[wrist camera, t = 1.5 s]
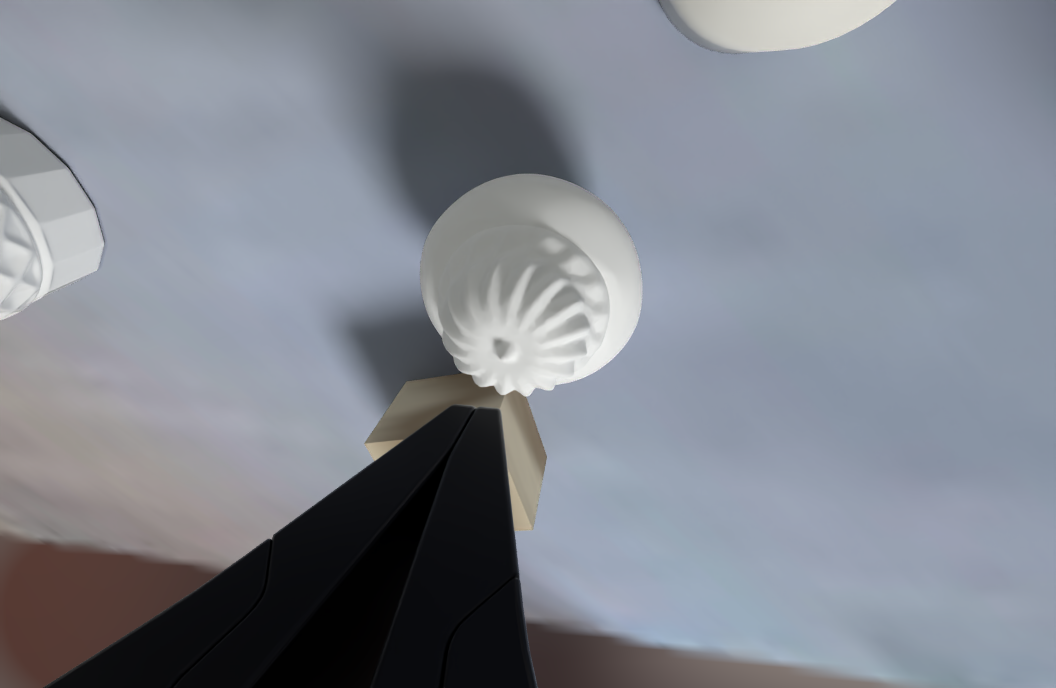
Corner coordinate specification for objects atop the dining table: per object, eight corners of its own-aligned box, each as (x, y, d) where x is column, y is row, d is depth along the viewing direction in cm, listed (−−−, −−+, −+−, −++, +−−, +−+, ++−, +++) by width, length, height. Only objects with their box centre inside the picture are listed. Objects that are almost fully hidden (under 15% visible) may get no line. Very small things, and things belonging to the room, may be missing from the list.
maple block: (515, 363, 19) (492, 430, 15) (547, 454, 21) (533, 530, 17) (407, 379, 20) (364, 443, 17) (448, 463, 22) (417, 534, 19)
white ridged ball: (674, 197, 14) (713, 293, 8) (593, 350, 17) (579, 497, 12) (487, 119, 14) (389, 159, 8) (440, 289, 17) (346, 407, 11)
